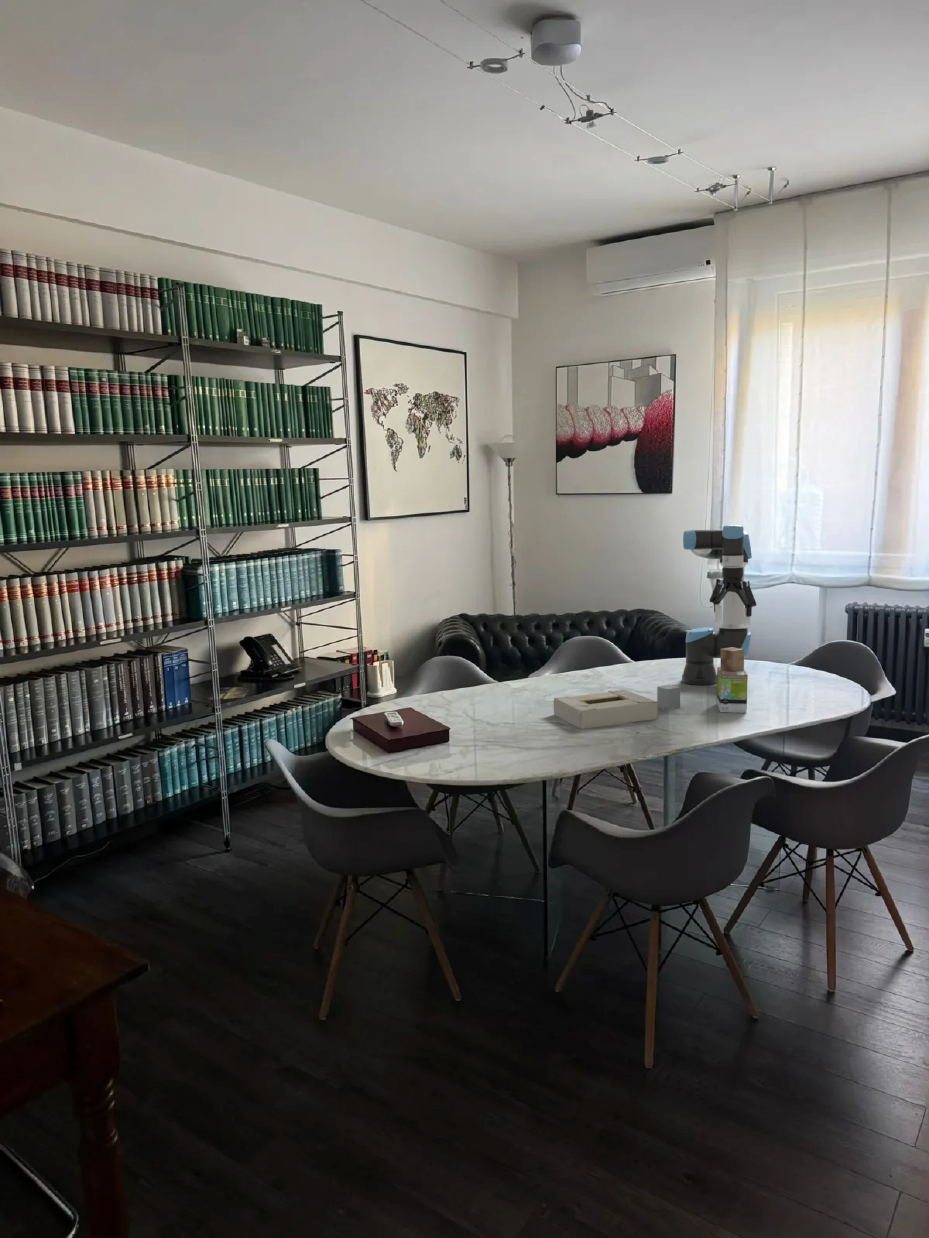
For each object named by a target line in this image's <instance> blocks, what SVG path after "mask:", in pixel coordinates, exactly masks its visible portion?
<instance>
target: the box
mask: <svg viewBox="0 0 929 1238" xmlns="http://www.w3.org/2000/svg"><path fill="white" fill-rule="evenodd" d="M553 713H554V714H553V715H554V716H556V717H558V718H559V719H562V720H563V721H565V722H567V723H568V724H571V725H573V726H575V727H577V729H580V730H583V729H590V728H597V727H598V728H599V727H606V726H611V725H613V726H614V725H619V724H627V723H635V722H643V721H650V720H657V719H658V718H659V707H658V702H657V700H655V699H651V698H648V697H645V696H643V695H640V694H637V693H636V692H633V691H630V690H628V689H626V688H622V689H617V690H608V691H605V692H597V693H589V694H580V695H572V696H568V695H565V696H557V697H553Z"/></svg>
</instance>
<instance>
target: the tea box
mask: <svg viewBox="0 0 929 1238" xmlns="http://www.w3.org/2000/svg"><path fill="white" fill-rule="evenodd" d="M716 675H717V683H716V704H717V707H718V710H719V712H720V713H731V714H732V713H735V714H736V713H737V714H738V713H739V714H741V713H742V714H743V713H744V714H745V713H747V710H748V677H749V676H748V673H747V671H746V670H745V669H744V670H742V671H737V672H729V671H724V670H721V666H717V668H716Z"/></svg>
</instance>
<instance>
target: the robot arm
mask: <svg viewBox="0 0 929 1238" xmlns="http://www.w3.org/2000/svg"><path fill="white" fill-rule="evenodd" d="M682 536H683V537H682V543H683V549H684V550H689V551H691V553H692V554H694V555H695V556H698V557H700V558H704V559H708V560H719V565H721V567H722V569H721V577H722V578H717V579H716V581H715V586H714V587H713V588H714V589H713V591H712V593H711V596H710V598H709V602H710V603H712V604H713V612H714V621H715V623H718V622H722V624H720V625H719V627H718V628H719V629H718V630H716V631H715V629H714V627H711V626H710V627H707V626H706V627H705V626H704V627H697V628H692V629H690V630H688V631H687V632H686V633H685V634H686V636H685V642H684V643H685V665H684V669H683V673H682V675H681V682H682V683H684V684H688V685H692V686H693V685H694V686H695V685H696V686H697V685H698V686H708V685H709V686H710V685H714V684H717V670H716V668H715V667H716V666H715V665H714V663H715V662H714V660H715V659H721V649H724V648H730V647H734V648H740V649H744V659H746V658H747V657H748V655H749V652H750V651H749V650H750V644H751V638H752V637H751V636H752V632H751V631H750V630H748V629H749V628H748V626H750V625H751V617H752V610H753V608H754V607H756V606H757V602H756V600H755V596H754V594H753V590H752V589H751V583H750V580H745V567H746V566H747V565H748V564H749V560H750V559H752V557H753V556H752V548H751V540H750V534H749V533H748V532H747V531H745V530H744V526H743V525H741V524H726V525H723V527H722V529H698V530H697V529H690V530H689V529H687V530H685V531H683V534H682ZM721 602H722V603H721Z"/></svg>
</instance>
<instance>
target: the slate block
mask: <svg viewBox="0 0 929 1238" xmlns="http://www.w3.org/2000/svg"><path fill="white" fill-rule="evenodd" d="M656 694H657V695H656V697H657V698H656V699H657V700H656V701H657V702H658V708H660V709H663V710H675V709H678V708H681V687H680V686H677V685H672V684H664V685H660V686H657V687H656Z"/></svg>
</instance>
